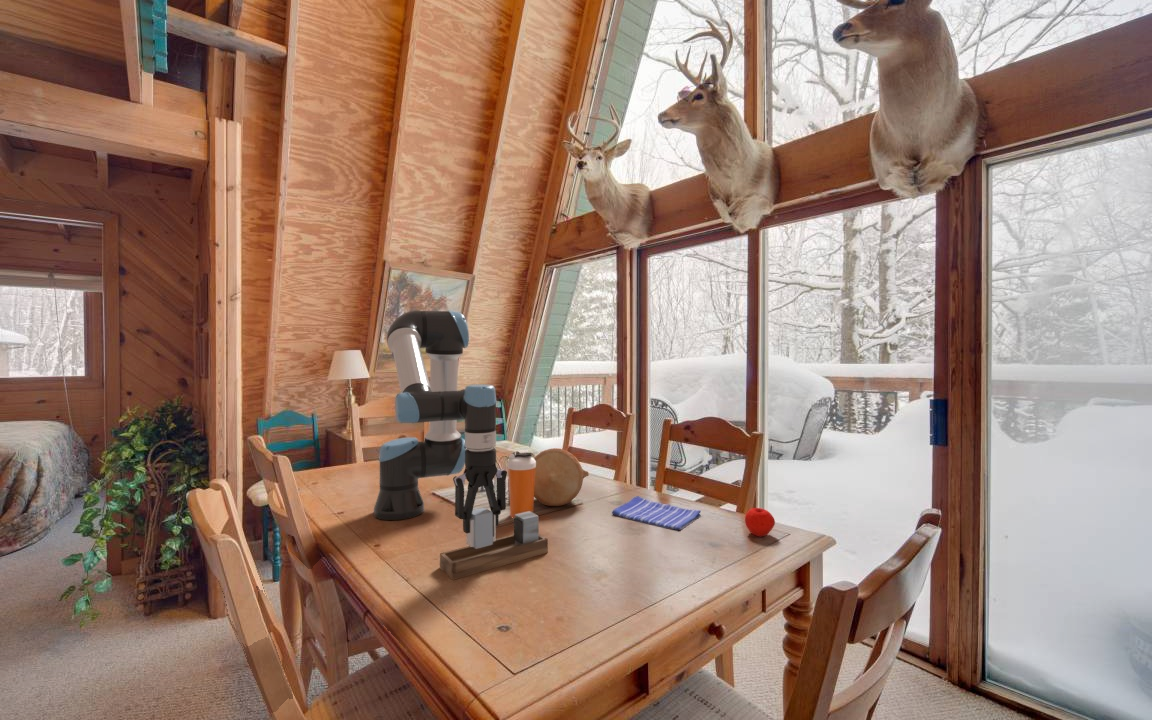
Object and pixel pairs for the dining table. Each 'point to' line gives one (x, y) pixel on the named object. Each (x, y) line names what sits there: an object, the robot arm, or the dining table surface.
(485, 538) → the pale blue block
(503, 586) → the dining table surface
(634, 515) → the dish towel
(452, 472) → the robot arm
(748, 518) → the apple
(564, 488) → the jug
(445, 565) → the rail
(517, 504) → the shaker bottle
